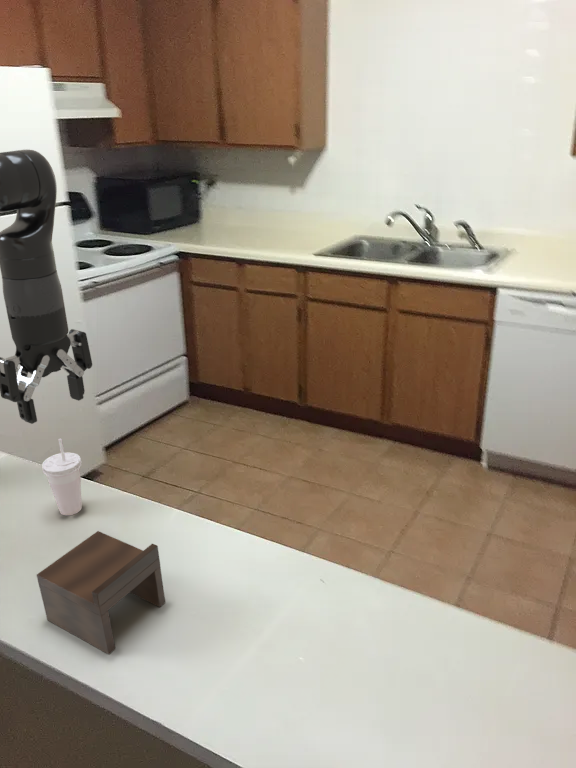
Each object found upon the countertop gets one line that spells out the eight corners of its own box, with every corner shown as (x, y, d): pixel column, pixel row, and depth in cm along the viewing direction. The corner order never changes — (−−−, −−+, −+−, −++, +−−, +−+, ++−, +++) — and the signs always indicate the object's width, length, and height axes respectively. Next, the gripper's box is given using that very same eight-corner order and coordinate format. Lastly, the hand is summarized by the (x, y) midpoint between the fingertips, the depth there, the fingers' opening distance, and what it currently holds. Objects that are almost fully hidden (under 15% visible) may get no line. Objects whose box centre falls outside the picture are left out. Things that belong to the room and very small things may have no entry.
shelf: (47, 620, 93) (33, 562, 88) (105, 573, 101) (95, 519, 97) (108, 654, 87) (97, 594, 83) (165, 602, 95) (157, 545, 91)
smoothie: (79, 521, 113) (65, 449, 108) (44, 518, 114) (29, 447, 109) (95, 500, 119) (83, 431, 113) (62, 497, 120) (48, 428, 114)
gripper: (58, 287, 99) (74, 386, 106) (-28, 315, 88) (-4, 423, 95) (93, 295, 95) (108, 397, 102) (8, 325, 84) (30, 437, 91)
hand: (54, 409), depth 98 cm, fingers open, 8 cm apart
